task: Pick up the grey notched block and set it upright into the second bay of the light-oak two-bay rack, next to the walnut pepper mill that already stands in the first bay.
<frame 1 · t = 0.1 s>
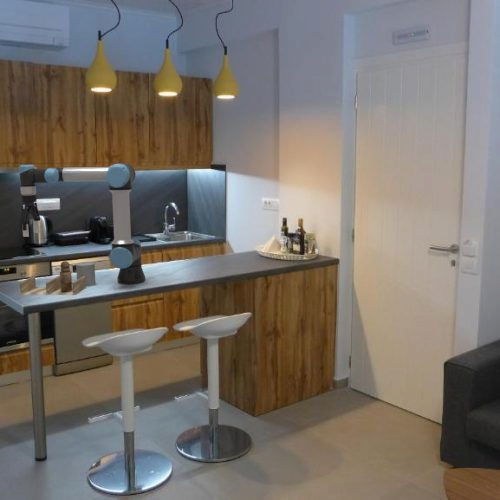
hand: (31, 234, 328), 28 cm above the breakfast bar, fingers open, 13 cm apart
pepper mill: (66, 291, 316), point 1 cm above the breakfast bar, touching rack
grey notched block: (86, 286, 331), on the breakfast bar
rack: (53, 292, 317), on the breakfast bar
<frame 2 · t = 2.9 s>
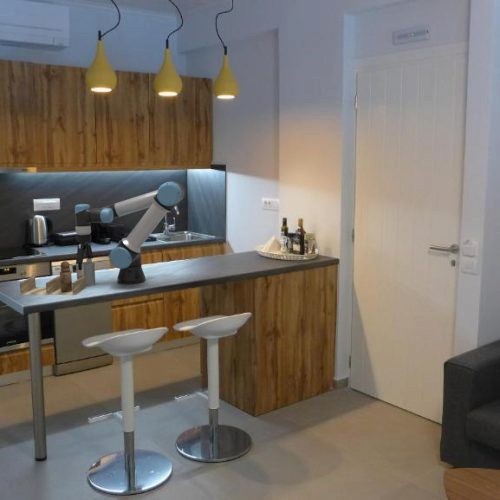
hand: (85, 273, 329), 7 cm above the breakfast bar, fingers open, 13 cm apart
nothing on the breakfast bar moved.
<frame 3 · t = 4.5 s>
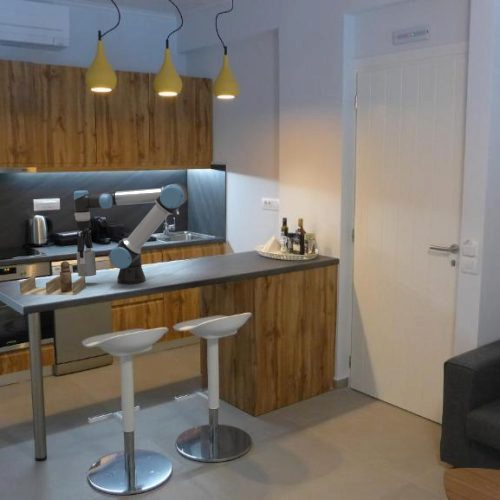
hand: (86, 262, 328), 13 cm above the breakfast bar, fingers closed on grey notched block, 9 cm apart
grey notched block: (87, 275, 330), point 6 cm above the breakfast bar, touching gripper
everything else where it was.
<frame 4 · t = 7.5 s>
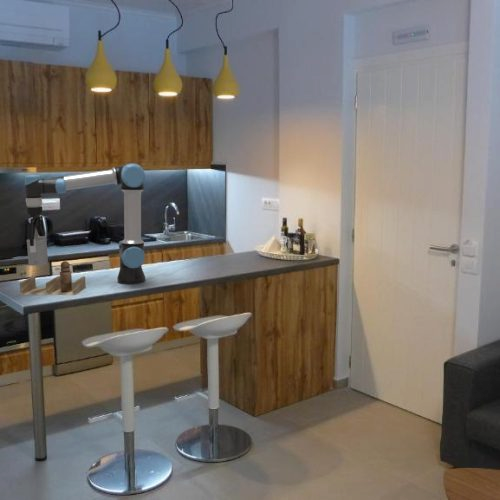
hand: (37, 250, 312), 22 cm above the breakfast bar, fingers closed on grey notched block, 9 cm apart
grey notched block: (38, 264, 314), point 15 cm above the breakfast bar, touching gripper
everything else where it was.
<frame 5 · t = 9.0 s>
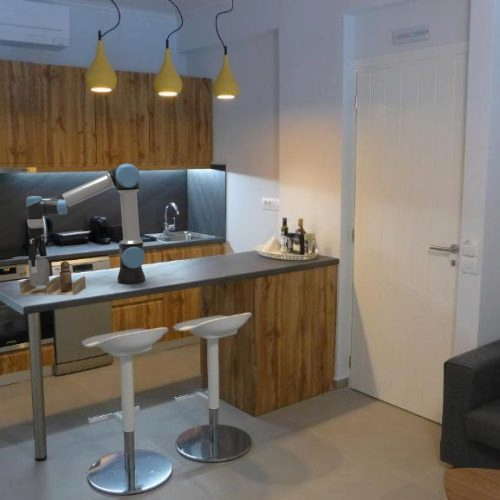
hand: (38, 270, 314), 12 cm above the breakfast bar, fingers closed on grey notched block, 9 cm apart
grey notched block: (39, 284, 315), point 5 cm above the breakfast bar, touching gripper
everything else where it was.
when the fingers open (8 cm above the breakfast bar, at t = 10.4 s): grey notched block stays where it is, resting on rack.
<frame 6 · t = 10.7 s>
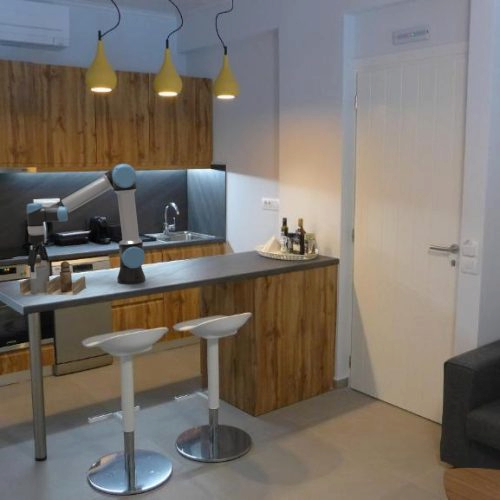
hand: (39, 275, 315), 9 cm above the breakfast bar, fingers open, 13 cm apart
grey notched block: (40, 291, 316), point 1 cm above the breakfast bar, touching rack
everything else where it was.
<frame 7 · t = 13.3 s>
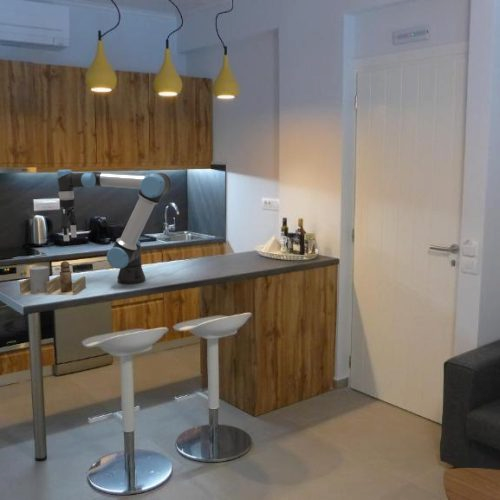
hand: (70, 239, 329), 25 cm above the breakfast bar, fingers open, 13 cm apart
nothing on the breakfast bar moved.
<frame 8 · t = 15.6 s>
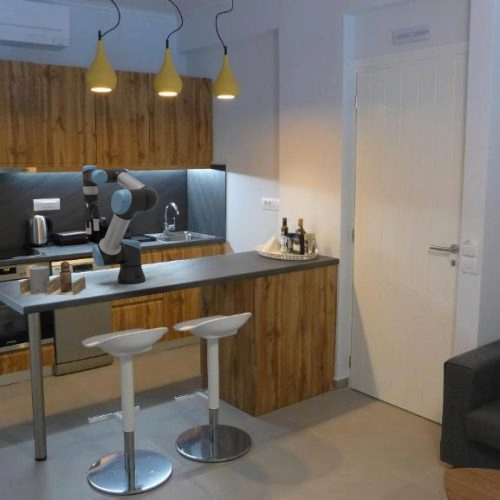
hand: (92, 232, 344), 27 cm above the breakfast bar, fingers open, 13 cm apart
nothing on the breakfast bar moved.
at the end: grey notched block inside the target area on the rack (1.1 cm from its centre), point 0.8 cm above the rack's base; grey notched block tilted 0°; pepper mill moved 0.0 cm from its start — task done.
